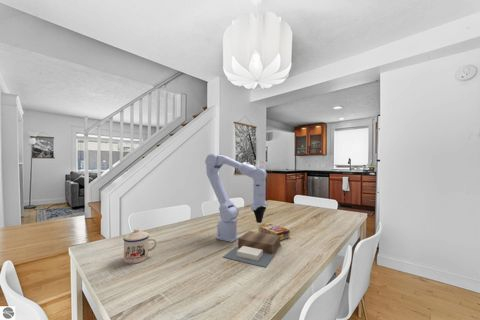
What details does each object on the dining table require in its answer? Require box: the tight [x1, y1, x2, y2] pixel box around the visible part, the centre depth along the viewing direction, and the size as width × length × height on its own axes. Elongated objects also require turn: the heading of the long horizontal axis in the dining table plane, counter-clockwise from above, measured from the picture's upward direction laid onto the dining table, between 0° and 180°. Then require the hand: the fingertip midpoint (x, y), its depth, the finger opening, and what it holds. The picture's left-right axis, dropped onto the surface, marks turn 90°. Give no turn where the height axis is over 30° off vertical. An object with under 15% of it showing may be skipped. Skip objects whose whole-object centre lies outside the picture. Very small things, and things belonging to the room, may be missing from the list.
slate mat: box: [222, 246, 275, 268], centre depth 83 cm, size 18×11×1 cm, turn 64°
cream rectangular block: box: [237, 246, 263, 261], centre depth 83 cm, size 9×6×2 cm, turn 63°
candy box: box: [257, 222, 291, 241], centre depth 109 cm, size 9×4×15 cm
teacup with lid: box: [123, 228, 158, 265], centre depth 81 cm, size 12×9×12 cm
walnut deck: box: [237, 230, 281, 255], centre depth 94 cm, size 16×12×4 cm
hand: (259, 222), depth 97 cm, fingers closed
